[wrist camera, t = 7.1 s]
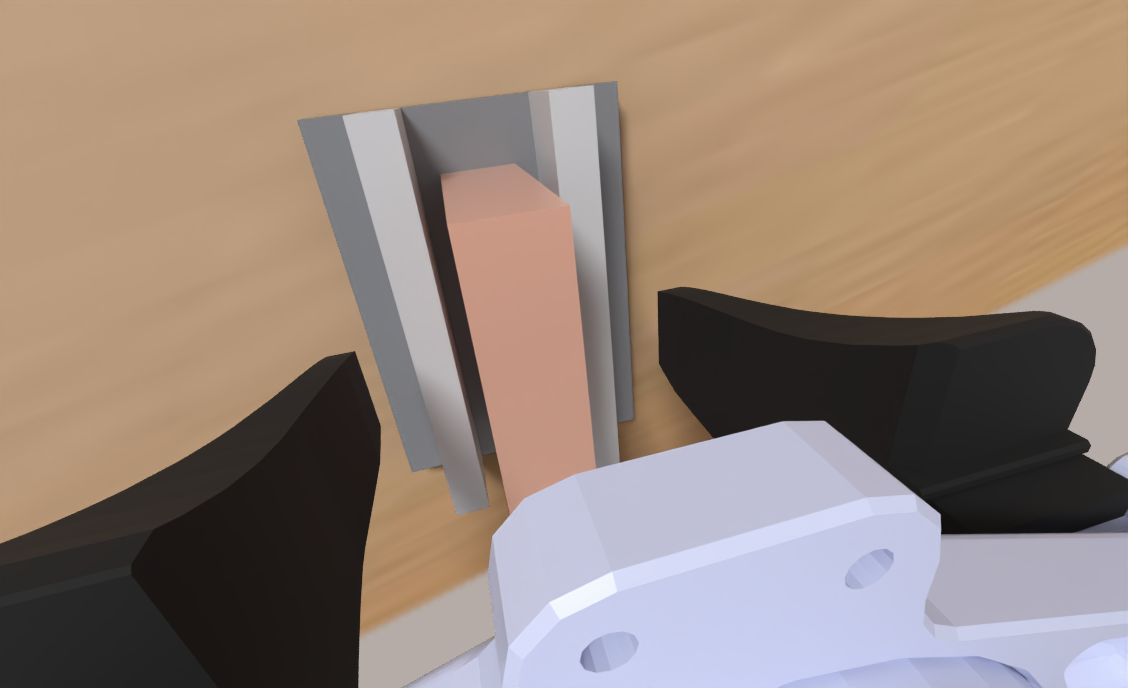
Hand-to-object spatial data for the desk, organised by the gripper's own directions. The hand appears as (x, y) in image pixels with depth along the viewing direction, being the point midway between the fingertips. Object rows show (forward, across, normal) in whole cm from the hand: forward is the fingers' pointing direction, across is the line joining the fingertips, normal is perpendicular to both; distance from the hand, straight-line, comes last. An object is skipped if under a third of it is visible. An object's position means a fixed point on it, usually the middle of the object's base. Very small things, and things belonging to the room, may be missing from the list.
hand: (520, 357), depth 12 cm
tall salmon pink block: (+4, 0, 0) cm, 4 cm away
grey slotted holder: (+5, 0, 0) cm, 5 cm away
